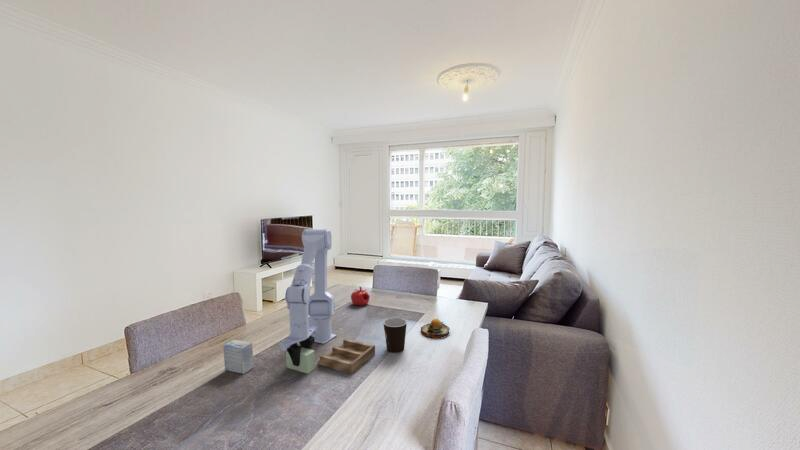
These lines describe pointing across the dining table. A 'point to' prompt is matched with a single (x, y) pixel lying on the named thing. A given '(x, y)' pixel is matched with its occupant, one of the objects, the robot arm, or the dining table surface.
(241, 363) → the medicine box
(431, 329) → the burger
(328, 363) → the wooden compartment tray
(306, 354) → the pale green block
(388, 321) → the coffee mug
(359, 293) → the pomegranate
